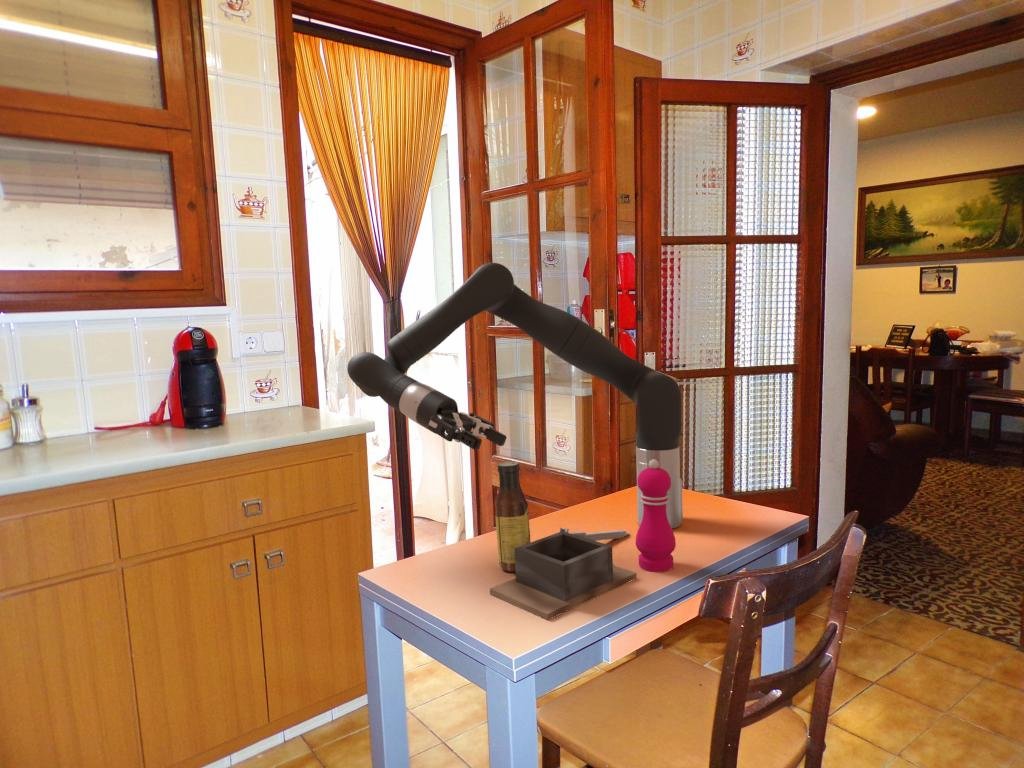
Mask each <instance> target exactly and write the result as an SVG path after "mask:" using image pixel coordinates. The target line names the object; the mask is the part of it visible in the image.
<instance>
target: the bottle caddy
mask: <svg viewBox="0 0 1024 768" xmlns="http://www.w3.org/2000/svg"><path fill="white" fill-rule="evenodd" d="M530 542H531V543H528V544H525V545H522V546H519V547H517V548H514V549H515V571H516V572H515V578H513V579H510V580H508V581H505V582H503V583H500V584H497V585H496V586H494V587H490V588H489V593H490V596H493V597H495V598H497V599H500V600H502V601H505V602H506V603H509V604H511V605H512V606H515V607H517V608H519V609H522V610H524V611H527V612H529V613H531V614H533V615H534V616H537V615H538V617H539V616H540V618H542V617H543V618H542V619H544V620H546V619H549V620H551V619H553V618H555V617H557V616H556V615H558V614H560V613H562V614H564V613H566V612H568V611H570V610H572V609H574V608H573V607H575V606H577V607H579V606H580V604H581V605H583V604H585V603H587V602H590V601H591V599H592V600H594V599H595V598H597V597H600V596H602V595H604V594H606V593H609V592H610V591H613V590H615V589H617V588H619V587H620V586H623V585H625V584H627V583H628V584H629V581H630V582H632V581H634V580H636V579H637V578H638V577H637V572H635V571H632V570H628V569H627V568H623V567H620V566H617V565H615V564H614V562H613V545H610V544H606V543H603V542H599V541H593V540H590V539H587V538H584V537H580V536H577V535H574V534H570V533H567V532H564V531H561V532H560V531H559V532H555V533H553V534H551V535H548V536H544V537H542V538H540V539H537V540H534V541H530ZM631 580H632V581H631ZM608 591H609V592H608ZM593 598H594V599H593ZM584 602H585V603H584ZM582 603H583V604H582ZM578 605H579V606H578ZM571 608H572V609H571ZM575 608H576V607H575ZM569 609H570V610H569ZM567 610H568V611H567ZM565 611H566V612H565ZM563 612H564V613H563ZM560 615H561V614H560ZM554 616H555V617H554ZM558 616H559V615H558ZM552 617H553V618H552ZM550 618H551V619H550Z"/></svg>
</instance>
